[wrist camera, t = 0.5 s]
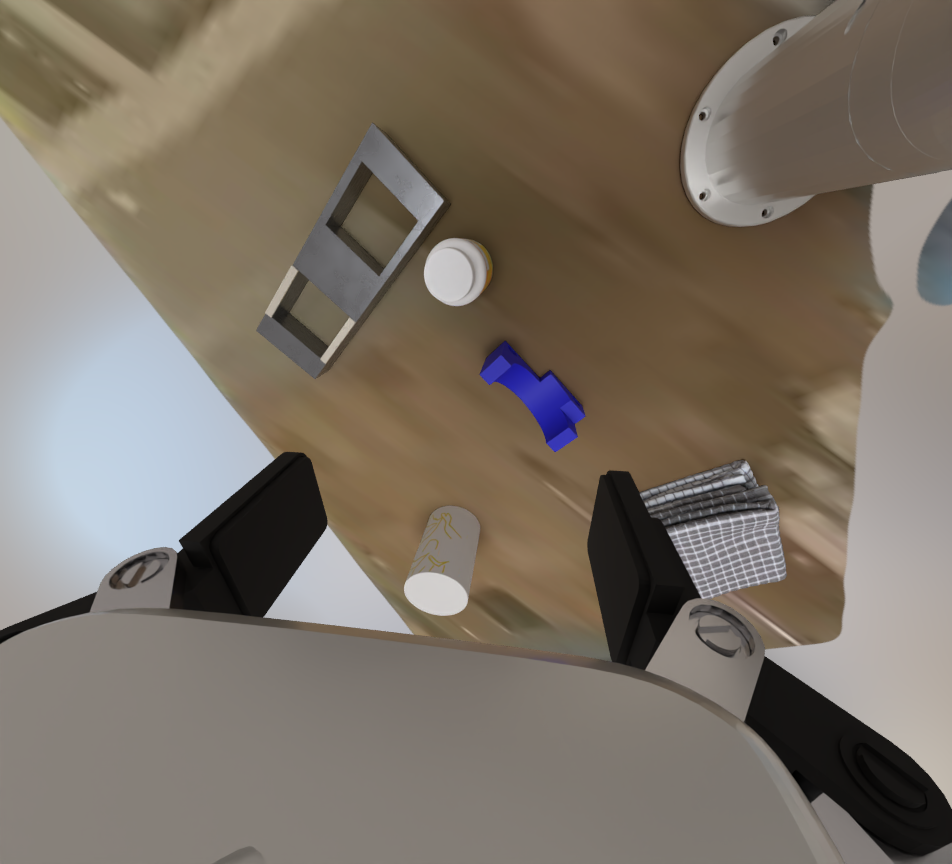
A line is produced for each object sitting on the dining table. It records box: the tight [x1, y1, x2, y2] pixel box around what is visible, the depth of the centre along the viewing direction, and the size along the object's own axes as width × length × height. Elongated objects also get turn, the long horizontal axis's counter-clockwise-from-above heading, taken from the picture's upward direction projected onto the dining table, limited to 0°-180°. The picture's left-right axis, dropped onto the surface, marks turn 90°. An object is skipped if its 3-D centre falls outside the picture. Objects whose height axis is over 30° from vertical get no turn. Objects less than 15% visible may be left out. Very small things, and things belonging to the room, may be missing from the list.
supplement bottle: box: [424, 238, 493, 306], centre depth 31 cm, size 5×5×10 cm
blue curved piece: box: [480, 341, 585, 452], centre depth 38 cm, size 12×4×6 cm, turn 45°
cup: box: [404, 506, 480, 615], centre depth 48 cm, size 8×8×12 cm
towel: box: [640, 460, 787, 599], centre depth 44 cm, size 15×18×8 cm
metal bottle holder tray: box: [256, 123, 451, 379], centre depth 36 cm, size 24×8×3 cm, turn 137°
